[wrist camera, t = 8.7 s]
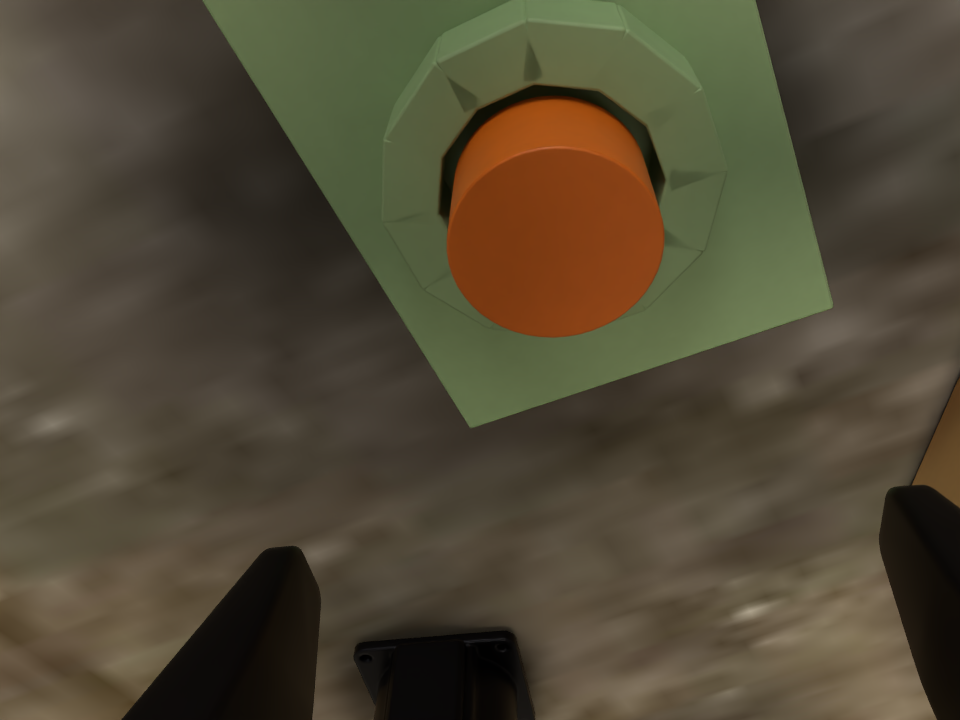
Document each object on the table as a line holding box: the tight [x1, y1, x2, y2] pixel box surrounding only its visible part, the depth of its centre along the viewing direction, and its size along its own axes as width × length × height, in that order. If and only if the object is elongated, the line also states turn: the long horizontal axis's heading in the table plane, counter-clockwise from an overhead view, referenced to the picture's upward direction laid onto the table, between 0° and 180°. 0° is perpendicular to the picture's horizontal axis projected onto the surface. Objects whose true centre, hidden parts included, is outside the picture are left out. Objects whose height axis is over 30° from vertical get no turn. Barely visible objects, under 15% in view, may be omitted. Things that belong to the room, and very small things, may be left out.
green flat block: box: [202, 0, 833, 428], centre depth 19 cm, size 13×10×4 cm
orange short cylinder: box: [447, 95, 665, 338], centre depth 16 cm, size 4×4×2 cm
